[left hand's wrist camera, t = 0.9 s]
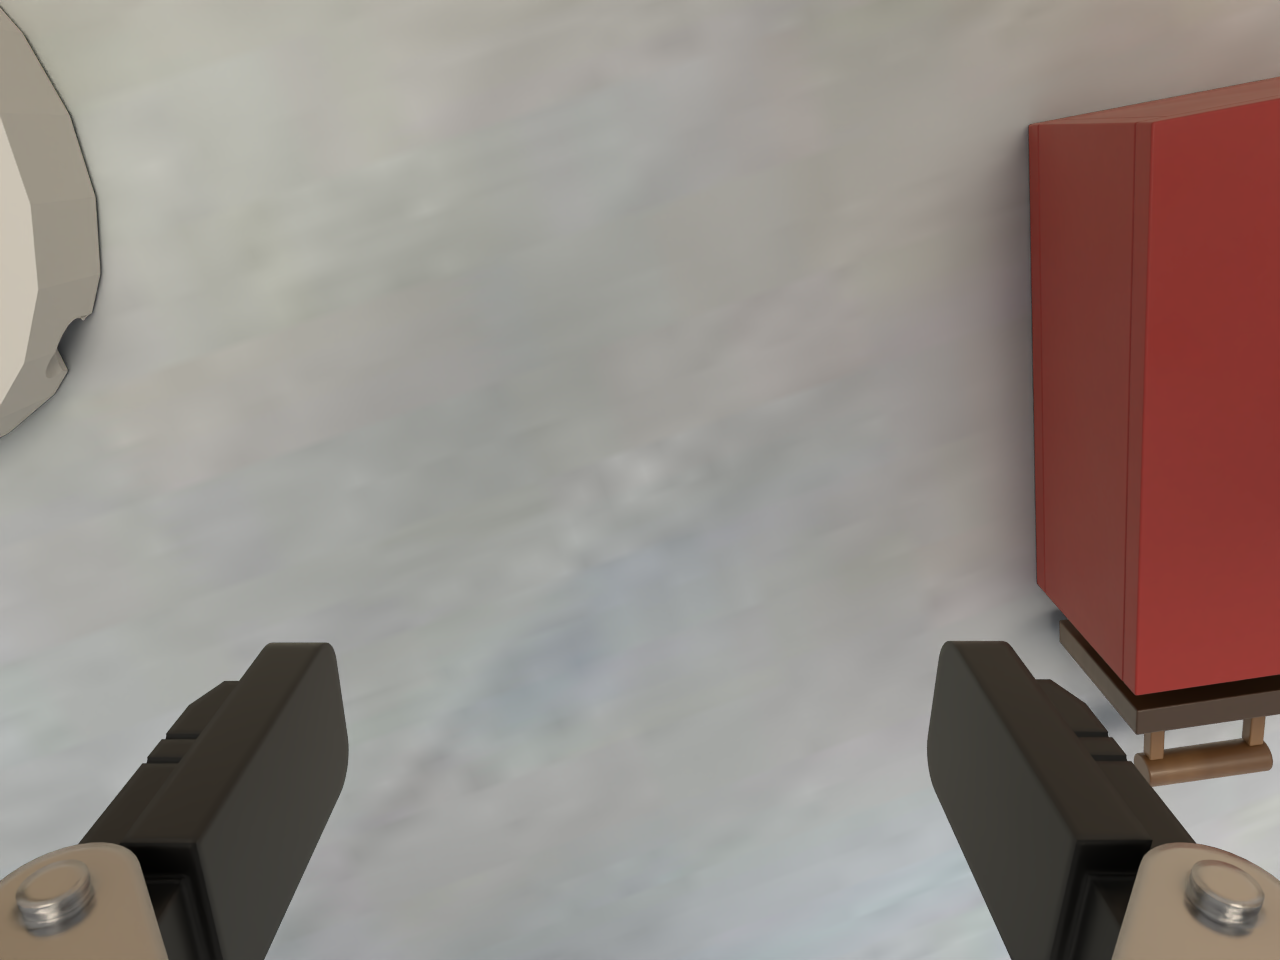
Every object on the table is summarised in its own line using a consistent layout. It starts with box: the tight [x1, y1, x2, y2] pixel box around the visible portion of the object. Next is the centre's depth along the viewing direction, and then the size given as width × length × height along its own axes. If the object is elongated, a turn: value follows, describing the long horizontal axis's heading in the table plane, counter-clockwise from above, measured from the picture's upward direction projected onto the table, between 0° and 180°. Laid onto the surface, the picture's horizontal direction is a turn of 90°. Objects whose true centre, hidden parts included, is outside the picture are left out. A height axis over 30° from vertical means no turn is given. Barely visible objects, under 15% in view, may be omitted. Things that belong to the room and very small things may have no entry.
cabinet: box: [1029, 77, 1280, 695], centre depth 33 cm, size 20×11×9 cm, turn 10°
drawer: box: [1059, 619, 1280, 787], centre depth 36 cm, size 25×9×7 cm, turn 10°
